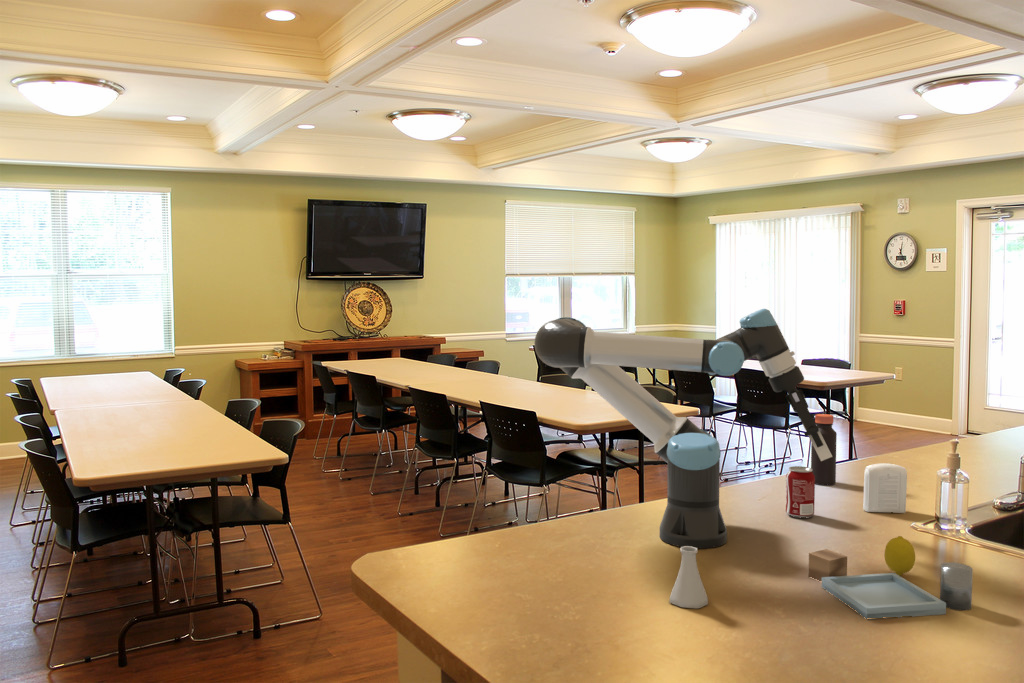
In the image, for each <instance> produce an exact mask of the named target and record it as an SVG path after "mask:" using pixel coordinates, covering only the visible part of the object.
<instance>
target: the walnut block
mask: <svg viewBox="0 0 1024 683" xmlns="http://www.w3.org/2000/svg"><path fill="white" fill-rule="evenodd" d="M835 576H848V556H847V555H846V554H845V555H844V554H841V553H839V552H836V551H833V550H830V549H827V548H826V549H822V550H817V551H812V552H809V553H808V578H809V577H812V578H814V579H817V580H819V581H822V577H835ZM814 579H813V580H814ZM819 581H818V582H819Z"/></svg>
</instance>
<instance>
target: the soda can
mask: <svg viewBox="0 0 1024 683" xmlns="http://www.w3.org/2000/svg"><path fill="white" fill-rule="evenodd" d="M785 477H786V479H785V513H786V514H787V515H789V516H790V515H791V516H790V517H792V516H794V517H793V518H795V517H801V518H800V519H807V518H806V517H809V518H811V517H813V516H814V515H815V500H816V499H815V493H816V492H815V491H816V489H815V488H816V486H815V485H816V484H815V476H814V474H813V473H812V469H811V467H809V466H801V465H799V466H797V465H795V466H789V467H788V472H787V473H786V475H785Z"/></svg>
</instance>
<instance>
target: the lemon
mask: <svg viewBox="0 0 1024 683" xmlns="http://www.w3.org/2000/svg"><path fill="white" fill-rule="evenodd" d="M884 562H885V564H886V566H887V567H888V568H889V569H890V570H891V571H892V572H893V573H895V574H897V575H899V576H900V577H902V575H903V574H906V573H909V572H910V571H911V570H912V569H913V568H914V566H915V564H916V551H915V548H914V546H913V544H912V543H911V542H910V541H909V540H908V539H906V538H904V537H903V536H901V535H898V536H895V537H894V538H891V539H890V540H888V542H887V543H886V546H885V549H884Z"/></svg>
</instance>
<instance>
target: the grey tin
mask: <svg viewBox="0 0 1024 683" xmlns="http://www.w3.org/2000/svg"><path fill="white" fill-rule="evenodd" d="M973 573H974V571H973V567H971V566H970V565H967V564H964V563H959V562H954V561H953V562H952V561H951V562H950V561H948V562H943V563H941V564H940V581H939V582H940V585H939V591H940V592H939V599H940V600H942V601H944V602H945V603H946V609H950V610H955V611H970V610H971V609H972V605H973V603H972V602H973V601H972V600H973V598H972V597H973Z"/></svg>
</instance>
